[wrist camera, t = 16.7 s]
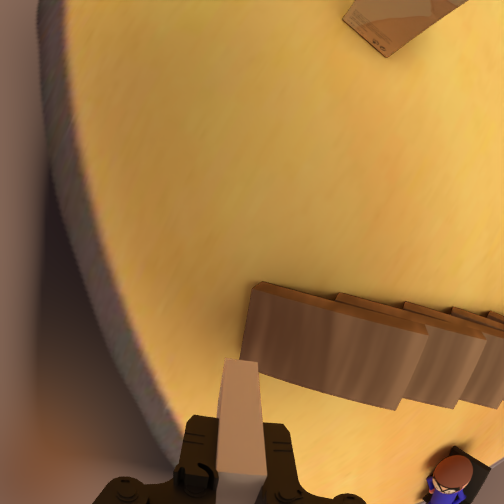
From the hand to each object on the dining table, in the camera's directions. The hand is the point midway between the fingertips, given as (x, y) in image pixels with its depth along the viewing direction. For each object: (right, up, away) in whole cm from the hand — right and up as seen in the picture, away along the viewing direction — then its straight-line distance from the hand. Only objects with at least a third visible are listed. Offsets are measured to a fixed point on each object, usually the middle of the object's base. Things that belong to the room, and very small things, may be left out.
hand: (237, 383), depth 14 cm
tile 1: (+1, +1, +6) cm, 7 cm away
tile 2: (+6, +1, +7) cm, 9 cm away
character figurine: (+26, -23, +14) cm, 38 cm away
